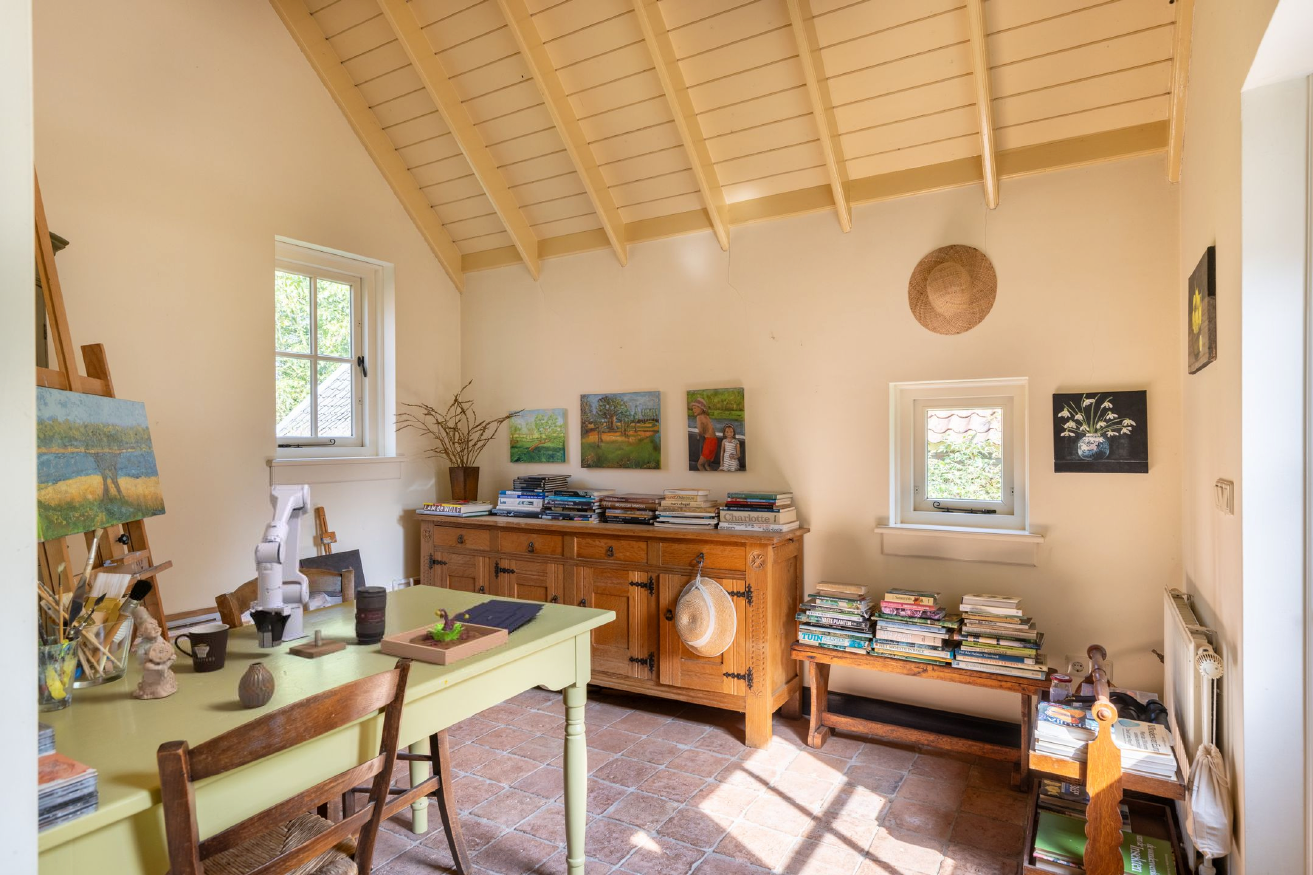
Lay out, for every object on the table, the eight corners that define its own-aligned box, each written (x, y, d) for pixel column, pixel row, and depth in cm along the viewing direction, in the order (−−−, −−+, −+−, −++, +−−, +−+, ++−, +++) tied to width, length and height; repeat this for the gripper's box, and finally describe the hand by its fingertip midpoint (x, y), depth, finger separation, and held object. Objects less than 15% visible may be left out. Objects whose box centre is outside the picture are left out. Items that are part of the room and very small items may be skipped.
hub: (254, 646, 189) (254, 631, 189) (273, 641, 194) (273, 626, 194) (266, 649, 187) (266, 633, 187) (285, 644, 191) (285, 629, 191)
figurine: (123, 697, 160) (123, 607, 160) (163, 685, 167) (163, 599, 168) (148, 703, 156) (148, 610, 156) (187, 691, 164) (187, 602, 164)
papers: (551, 612, 233) (550, 602, 233) (499, 649, 205) (499, 637, 205) (487, 606, 242) (486, 596, 241) (429, 640, 214) (428, 629, 213)
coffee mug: (237, 665, 183) (237, 625, 183) (206, 675, 175) (206, 634, 175) (203, 660, 187) (203, 622, 187) (171, 670, 178) (171, 630, 178)
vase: (247, 699, 158) (247, 659, 158) (280, 698, 159) (280, 658, 159) (231, 710, 151) (231, 668, 152) (266, 709, 152) (266, 667, 152)
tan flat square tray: (381, 652, 193) (381, 639, 193) (446, 631, 214) (446, 620, 214) (445, 665, 182) (445, 651, 182) (507, 642, 202) (507, 629, 202)
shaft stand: (289, 653, 193) (289, 632, 193) (322, 643, 202) (322, 624, 202) (313, 658, 188) (313, 637, 188) (346, 648, 197) (346, 628, 197)
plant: (395, 648, 198) (395, 607, 199) (461, 635, 212) (460, 596, 212) (428, 664, 184) (428, 619, 184) (496, 648, 197) (496, 607, 197)
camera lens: (374, 646, 199) (375, 592, 199) (348, 644, 201) (349, 590, 201) (391, 638, 207) (392, 586, 207) (366, 636, 209) (367, 584, 209)
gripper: (238, 587, 191) (239, 639, 191) (272, 593, 183) (272, 646, 183) (264, 582, 197) (264, 632, 197) (298, 588, 190) (298, 639, 190)
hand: (270, 639), depth 191 cm, fingers closed on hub, 5 cm apart
